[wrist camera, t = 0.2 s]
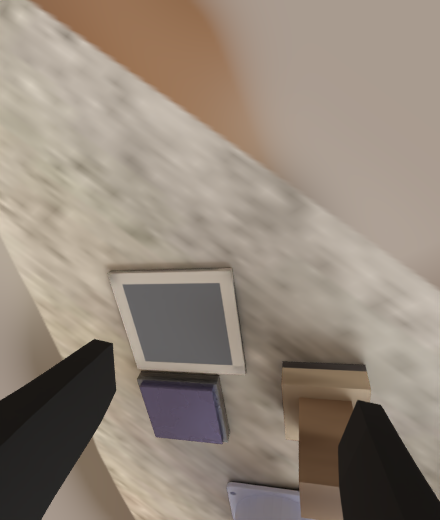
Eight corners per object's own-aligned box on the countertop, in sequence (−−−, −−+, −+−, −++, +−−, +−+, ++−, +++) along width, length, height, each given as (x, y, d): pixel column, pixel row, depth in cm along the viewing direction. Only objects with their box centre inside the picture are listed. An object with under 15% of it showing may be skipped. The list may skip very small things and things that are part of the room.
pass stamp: (361, 420, 23) (384, 541, 17) (286, 413, 24) (282, 524, 18) (365, 364, 21) (392, 480, 15) (282, 360, 22) (276, 466, 16)
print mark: (246, 371, 23) (245, 375, 23) (139, 366, 25) (138, 369, 24) (232, 268, 19) (231, 270, 19) (109, 271, 21) (107, 273, 21)
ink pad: (229, 432, 26) (226, 447, 25) (158, 426, 28) (153, 439, 27) (219, 375, 24) (215, 388, 22) (141, 371, 25) (134, 383, 24)
